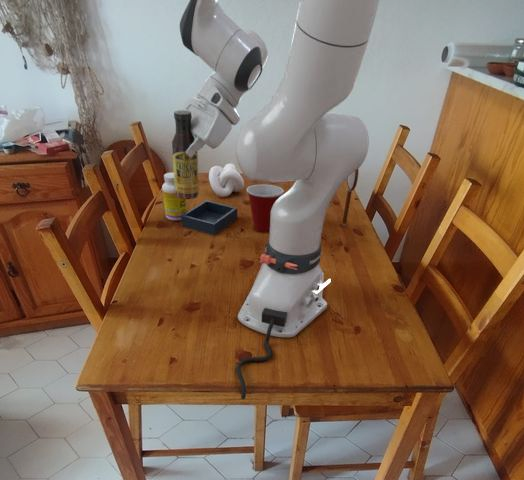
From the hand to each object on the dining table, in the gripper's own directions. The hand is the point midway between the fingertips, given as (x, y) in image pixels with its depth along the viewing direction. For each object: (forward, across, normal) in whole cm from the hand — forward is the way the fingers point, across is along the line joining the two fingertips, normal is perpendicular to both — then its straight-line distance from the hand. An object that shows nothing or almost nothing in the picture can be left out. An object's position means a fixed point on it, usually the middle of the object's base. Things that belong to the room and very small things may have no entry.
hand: (181, 150), depth 102 cm
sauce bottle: (+8, 0, +9) cm, 12 cm away
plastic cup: (+1, +2, +34) cm, 34 cm away
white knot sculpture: (0, -28, +35) cm, 44 cm away
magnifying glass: (-15, +12, +50) cm, 54 cm away
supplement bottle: (+16, -17, +19) cm, 30 cm away
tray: (+10, -9, +25) cm, 28 cm away
